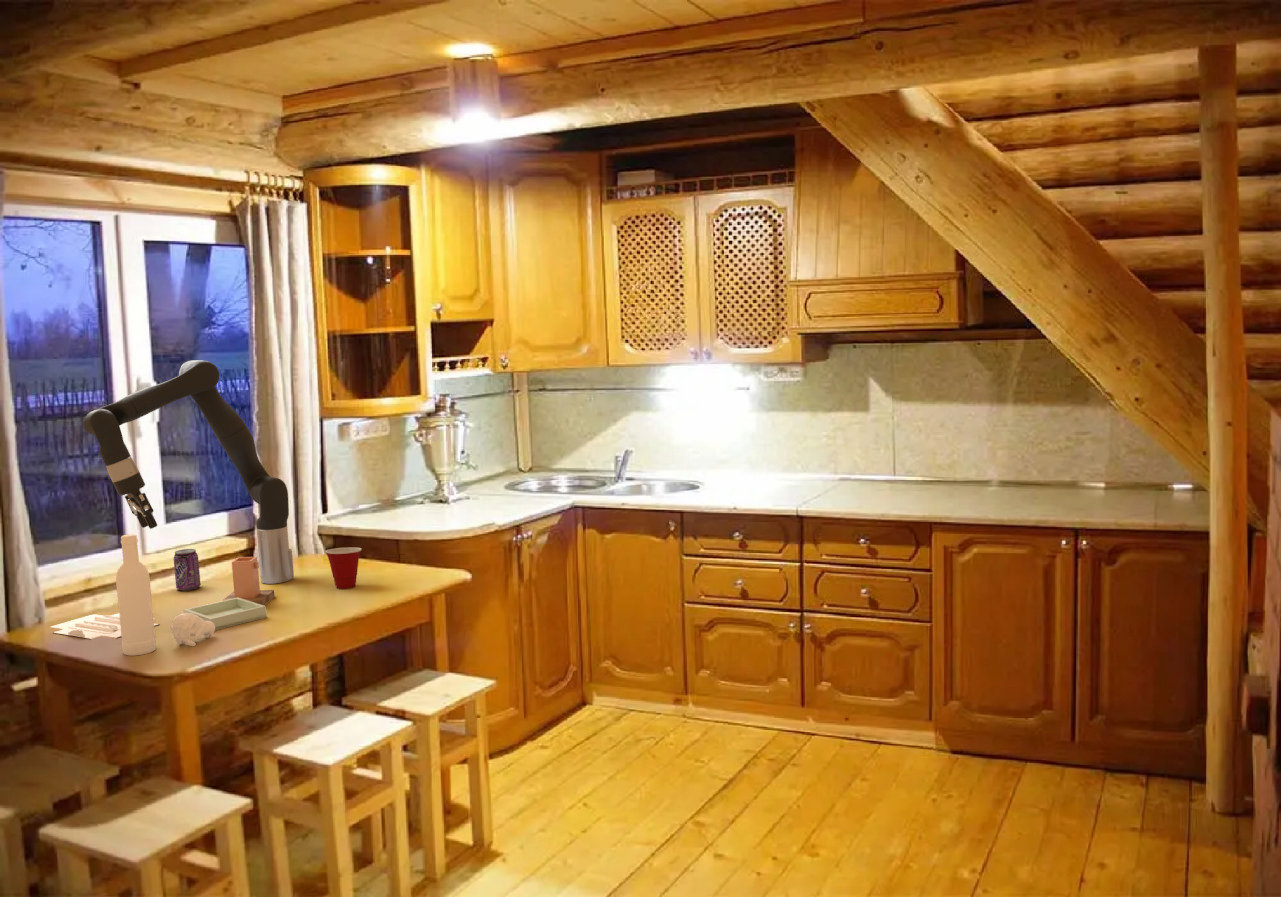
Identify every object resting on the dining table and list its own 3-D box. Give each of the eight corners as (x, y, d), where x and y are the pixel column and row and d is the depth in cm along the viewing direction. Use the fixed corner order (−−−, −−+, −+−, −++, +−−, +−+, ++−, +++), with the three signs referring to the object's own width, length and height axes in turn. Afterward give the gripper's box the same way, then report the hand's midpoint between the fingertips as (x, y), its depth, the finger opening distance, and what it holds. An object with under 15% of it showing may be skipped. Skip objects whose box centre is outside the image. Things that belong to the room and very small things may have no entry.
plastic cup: (369, 582, 350) (366, 544, 348) (357, 591, 339) (354, 552, 337) (335, 582, 351) (332, 544, 349) (322, 591, 340) (319, 552, 339)
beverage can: (172, 589, 350) (168, 551, 348) (194, 584, 355) (191, 547, 353) (182, 592, 345) (179, 554, 343) (204, 588, 350) (201, 550, 348)
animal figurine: (167, 614, 288) (204, 606, 298) (168, 646, 288) (205, 637, 299) (184, 616, 285) (221, 609, 295) (184, 648, 285) (221, 640, 296)
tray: (238, 608, 324) (237, 597, 323) (266, 617, 313) (265, 606, 313) (184, 621, 312) (183, 609, 312) (211, 631, 301) (210, 619, 301)
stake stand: (234, 598, 336) (231, 572, 335) (274, 596, 336) (272, 570, 335) (220, 608, 324) (218, 581, 323) (262, 607, 324) (260, 580, 323)
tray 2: (104, 614, 326) (103, 601, 325) (171, 627, 313) (170, 614, 312) (38, 633, 308) (37, 620, 307) (106, 648, 295) (105, 635, 295)
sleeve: (241, 593, 333) (237, 557, 331) (263, 592, 333) (260, 556, 331) (234, 598, 327) (231, 561, 326) (257, 597, 327) (254, 560, 326)
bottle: (115, 653, 284) (104, 537, 280) (142, 645, 291) (131, 531, 287) (137, 657, 280) (125, 539, 276) (163, 648, 287) (152, 533, 283)
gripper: (144, 470, 316) (169, 522, 320) (132, 470, 327) (155, 520, 331) (118, 481, 312) (143, 533, 315) (106, 481, 323) (131, 531, 327)
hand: (149, 527), depth 323 cm, fingers open, 8 cm apart
